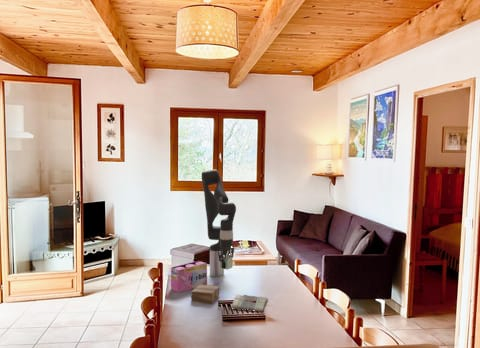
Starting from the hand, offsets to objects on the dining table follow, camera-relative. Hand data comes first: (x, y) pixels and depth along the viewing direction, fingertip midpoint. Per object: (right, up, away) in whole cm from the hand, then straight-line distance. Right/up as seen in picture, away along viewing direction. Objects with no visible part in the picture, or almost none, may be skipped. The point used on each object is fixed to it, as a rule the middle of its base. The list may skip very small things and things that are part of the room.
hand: (226, 266), depth 212 cm
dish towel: (+13, -19, -10) cm, 25 cm away
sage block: (0, 0, 0) cm, 0 cm away
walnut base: (-12, -18, -3) cm, 21 cm away
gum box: (-23, -17, +17) cm, 34 cm away
